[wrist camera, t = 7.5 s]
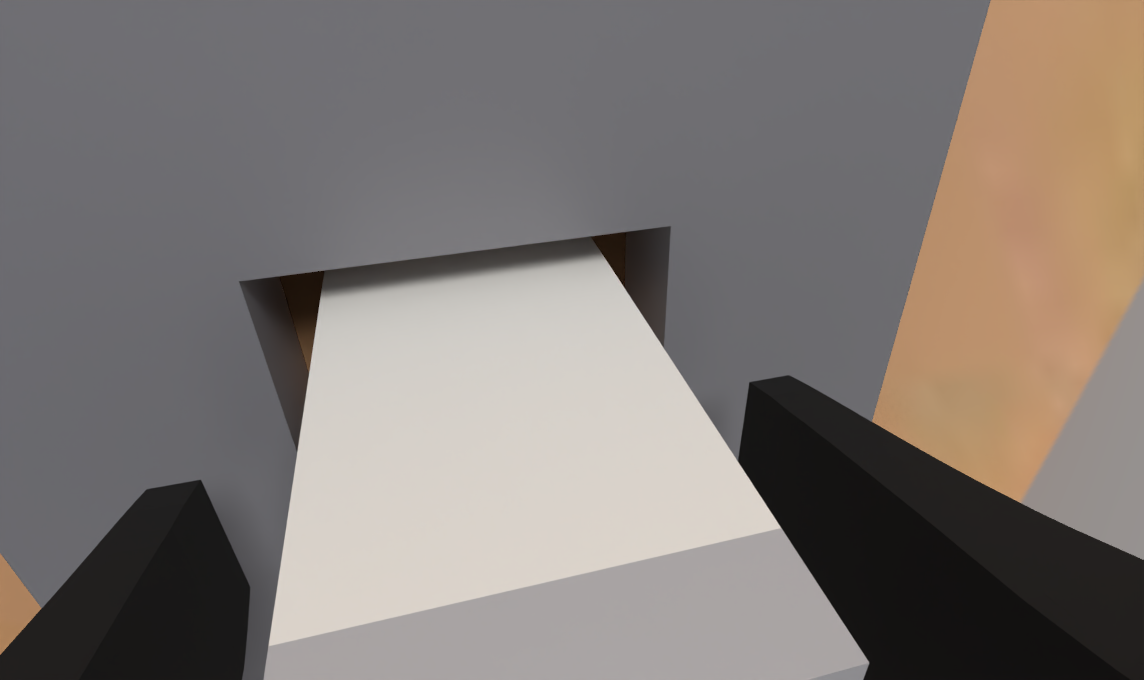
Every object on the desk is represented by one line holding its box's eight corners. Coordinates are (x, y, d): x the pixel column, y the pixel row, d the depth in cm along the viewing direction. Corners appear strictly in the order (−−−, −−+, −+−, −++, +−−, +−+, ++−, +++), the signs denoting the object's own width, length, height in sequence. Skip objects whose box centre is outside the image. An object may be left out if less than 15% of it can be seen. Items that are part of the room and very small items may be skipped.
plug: (378, 444, 13) (378, 1026, 6) (327, 250, 10) (240, 837, 4) (584, 406, 13) (786, 891, 7) (578, 217, 11) (869, 662, 4)
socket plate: (184, 668, 14) (150, 799, 12) (-297, -121, 7) (-605, -135, 5) (778, 534, 17) (835, 623, 15) (919, -147, 9) (1080, -163, 7)
